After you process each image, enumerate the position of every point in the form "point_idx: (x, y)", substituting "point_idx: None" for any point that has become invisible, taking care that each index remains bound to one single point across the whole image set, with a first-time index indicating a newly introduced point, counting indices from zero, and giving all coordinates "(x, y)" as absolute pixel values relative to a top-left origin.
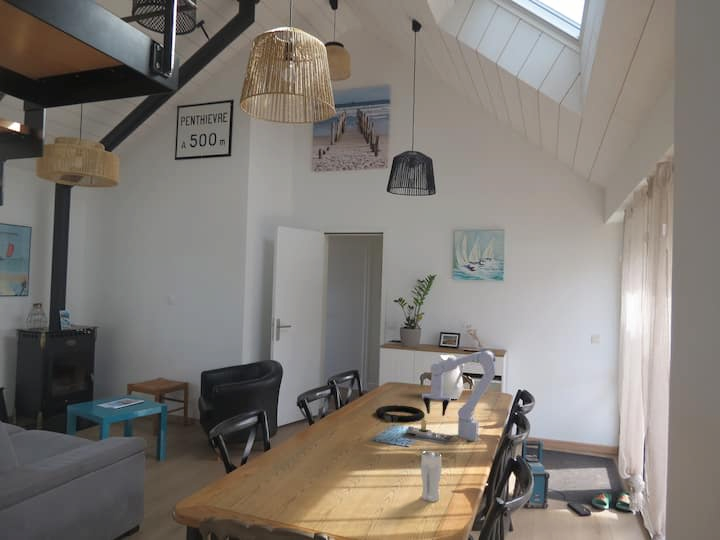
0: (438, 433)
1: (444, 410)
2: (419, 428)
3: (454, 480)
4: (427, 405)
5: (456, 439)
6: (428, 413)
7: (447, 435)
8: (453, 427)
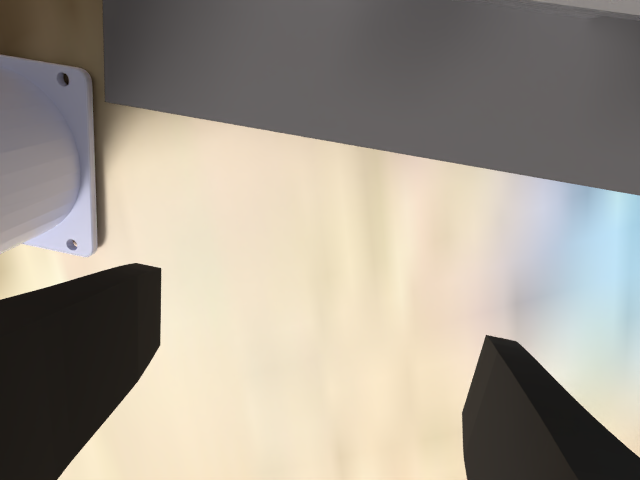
0: (302, 129)
1: (18, 296)
2: (619, 3)
3: None
4: (596, 477)
5: (78, 39)
6: (489, 338)
7: (178, 78)
8: (207, 475)
